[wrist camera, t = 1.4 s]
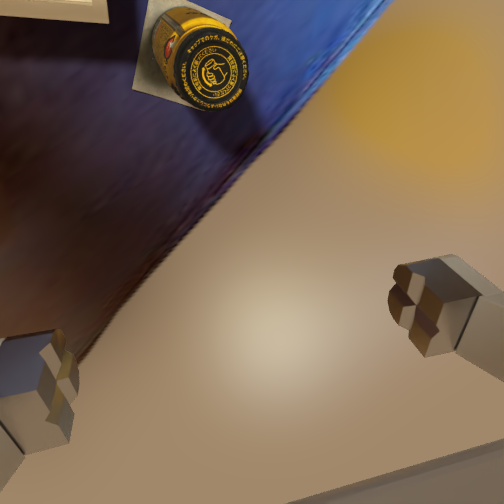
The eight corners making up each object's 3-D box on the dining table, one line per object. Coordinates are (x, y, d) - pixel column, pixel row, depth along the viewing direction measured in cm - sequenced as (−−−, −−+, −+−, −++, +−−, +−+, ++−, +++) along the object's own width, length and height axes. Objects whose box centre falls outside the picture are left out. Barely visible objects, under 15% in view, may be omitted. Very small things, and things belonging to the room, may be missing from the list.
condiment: (230, 20, 33) (276, 39, 24) (204, 110, 38) (235, 156, 29) (151, -16, 30) (170, -8, 21) (131, 88, 34) (140, 131, 25)
